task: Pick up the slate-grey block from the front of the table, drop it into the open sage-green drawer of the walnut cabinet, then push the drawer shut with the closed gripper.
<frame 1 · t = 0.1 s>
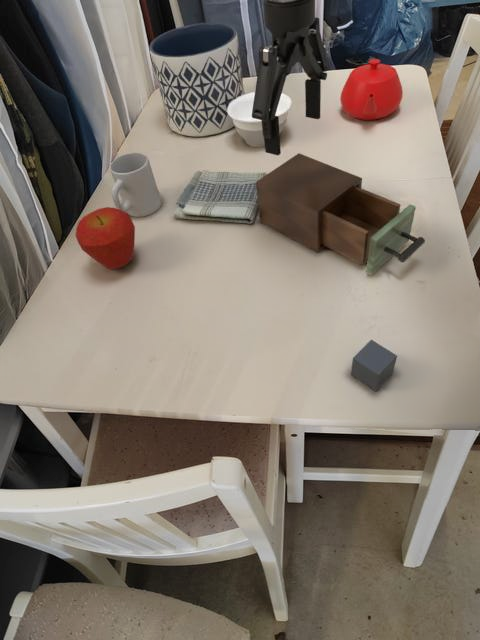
hand: (293, 134, 80), 17 cm above the table, tool pointing down, fingers open, 13 cm apart
planter: (207, 119, 126), on the table
bowl: (262, 138, 115), on the table
cabinet: (308, 220, 91), on the table
teapot: (369, 112, 117), on the table
dish towel: (222, 200, 100), on the table
apple: (120, 263, 90), on the table
mug: (140, 211, 101), on the table
drawer: (368, 229, 80), point 5 cm above the table, slide at 10.5 cm
block: (371, 373, 66), on the table
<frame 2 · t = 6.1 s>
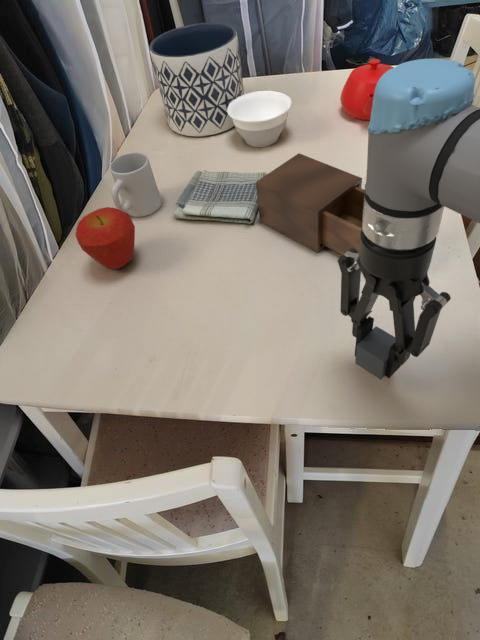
hand: (377, 360, 63), 4 cm above the table, tool pointing down, fingers closed on block, 4 cm apart
block: (377, 362, 63), point 4 cm above the table, touching gripper
everything else where it was.
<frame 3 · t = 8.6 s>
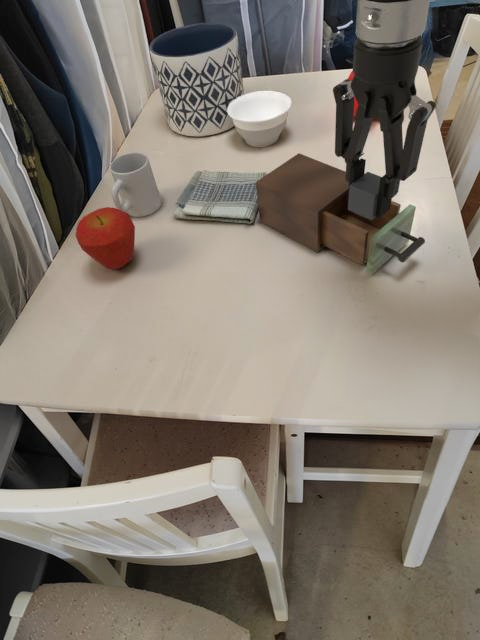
hand: (368, 206, 68), 15 cm above the table, tool pointing down, fingers closed on block, 4 cm apart
block: (368, 207, 68), point 15 cm above the table, touching gripper
everything else where it was.
when the fingers open (11 cm above the table, at t = 11.2 s): block drops 8 cm, resting on drawer.
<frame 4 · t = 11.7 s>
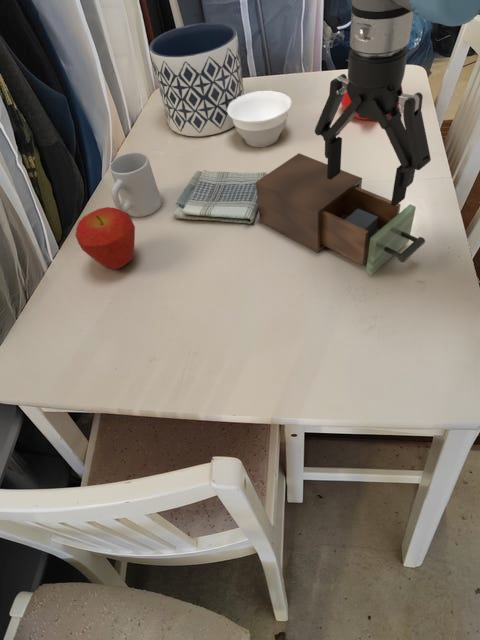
hand: (364, 188, 75), 13 cm above the table, tool pointing down, fingers open, 12 cm apart
drawer: (368, 229, 80), point 5 cm above the table, slide at 10.5 cm, touching block
block: (359, 237, 83), point 2 cm above the table, touching drawer
everything else where it was.
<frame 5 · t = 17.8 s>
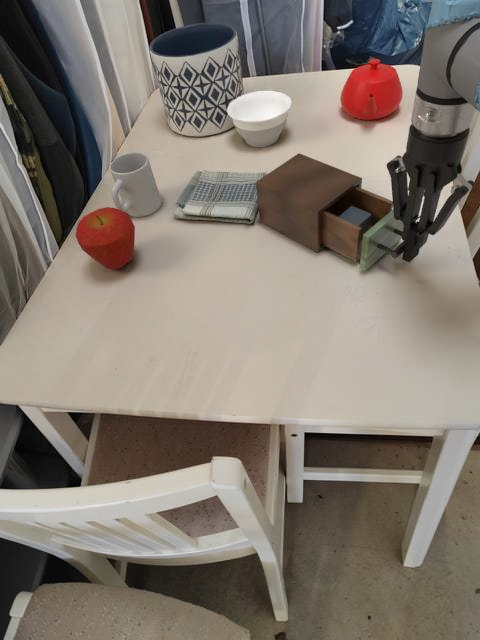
hand: (410, 256, 77), 3 cm above the table, tool pointing down, fingers closed
drawer: (362, 226, 81), point 5 cm above the table, slide at 9.1 cm, touching block, gripper
block: (352, 234, 84), point 2 cm above the table, touching drawer
everything else where it was.
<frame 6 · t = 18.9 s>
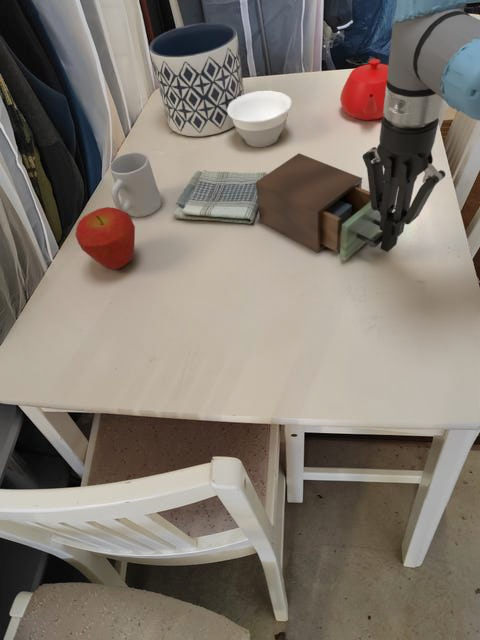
hand: (388, 246, 79), 3 cm above the table, tool pointing down, fingers closed
drawer: (342, 217, 83), point 5 cm above the table, slide at 4.7 cm, touching block, gripper
block: (334, 225, 86), point 2 cm above the table, touching drawer
everything else where it was.
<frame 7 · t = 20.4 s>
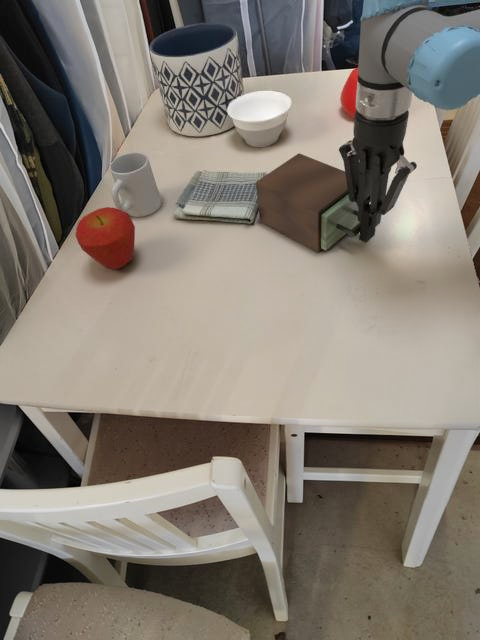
hand: (366, 237, 81), 3 cm above the table, tool pointing down, fingers closed
drawer: (324, 208, 85), point 5 cm above the table, slide at 0.2 cm, touching block, gripper
block: (316, 217, 88), point 2 cm above the table, touching drawer
everything else where it was.
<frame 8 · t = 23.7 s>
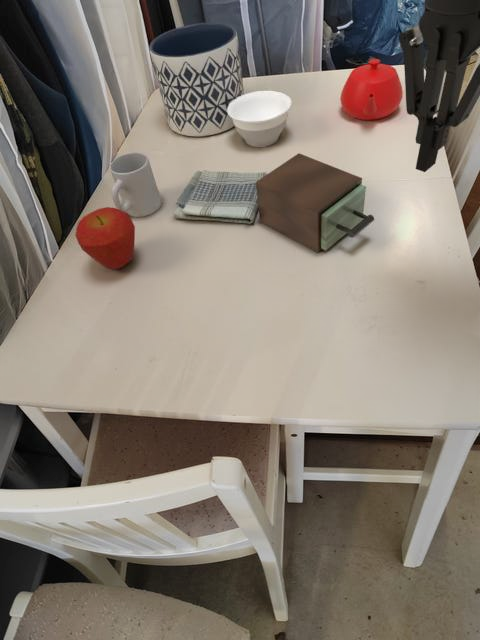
hand: (425, 166, 64), 20 cm above the table, tool pointing down, fingers closed
drawer: (324, 208, 85), point 5 cm above the table, slide at 0.2 cm, touching block
everything else where it was.
at the end: block inside the target area in the cabinet (2.2 cm from its centre), point 2.0 cm above the cabinet's base; drawer slide at 0.2 cm; the gripper is holding nothing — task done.
